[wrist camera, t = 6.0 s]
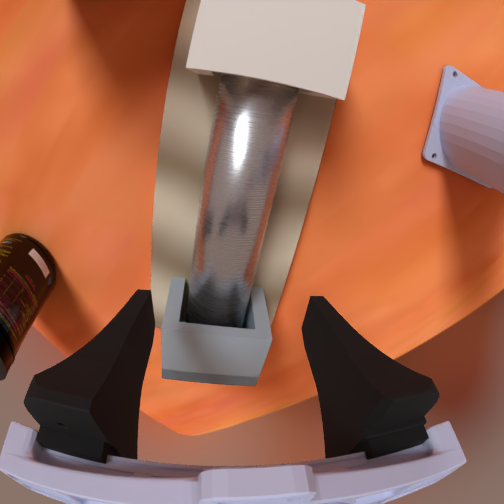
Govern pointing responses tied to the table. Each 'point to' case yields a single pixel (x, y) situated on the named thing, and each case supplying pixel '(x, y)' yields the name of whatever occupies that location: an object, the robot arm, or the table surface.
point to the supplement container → (21, 291)
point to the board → (192, 168)
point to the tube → (237, 195)
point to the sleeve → (279, 42)
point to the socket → (214, 343)
